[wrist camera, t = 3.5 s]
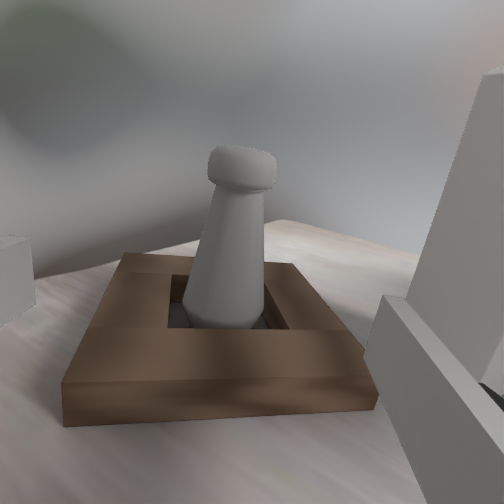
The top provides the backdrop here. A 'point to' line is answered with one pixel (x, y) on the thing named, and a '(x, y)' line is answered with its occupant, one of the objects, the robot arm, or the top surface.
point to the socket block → (210, 354)
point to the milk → (470, 245)
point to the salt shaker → (231, 242)
